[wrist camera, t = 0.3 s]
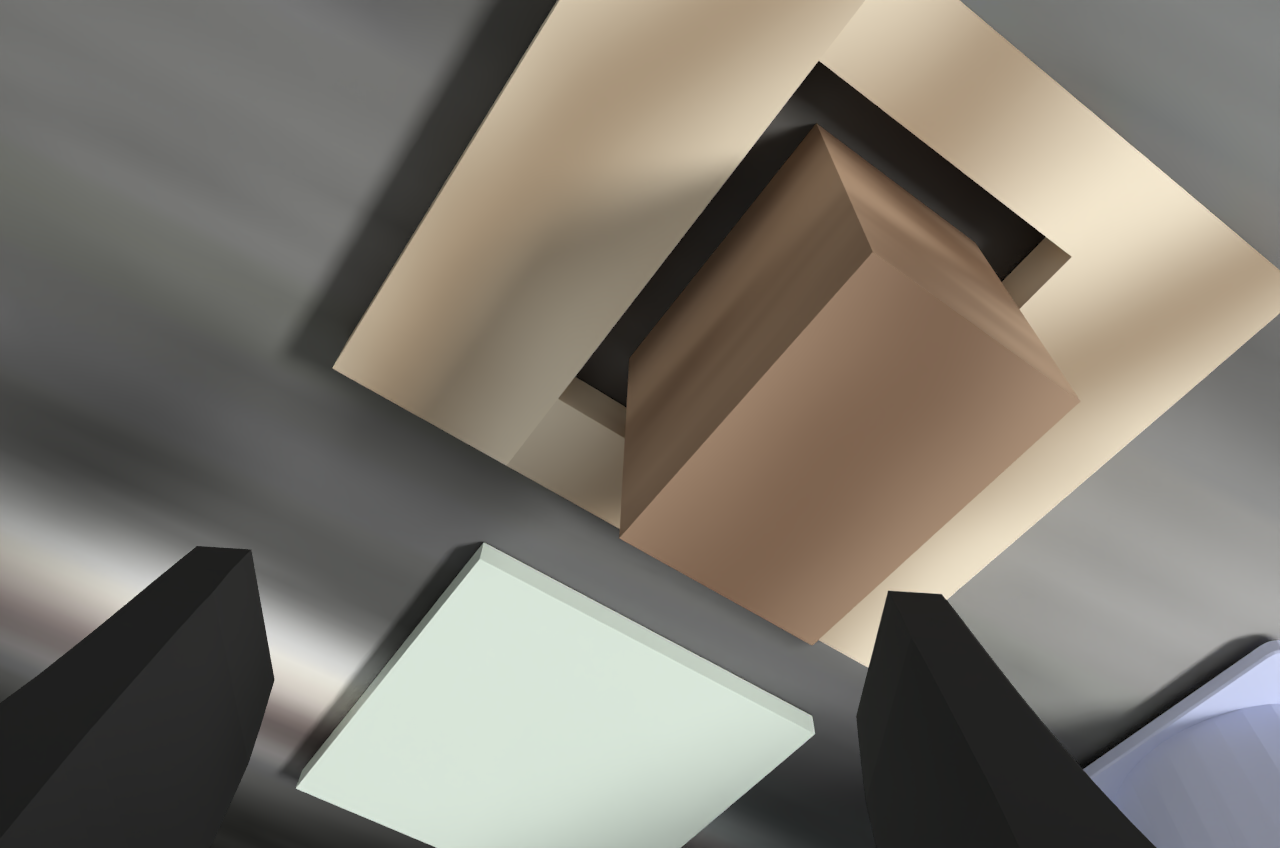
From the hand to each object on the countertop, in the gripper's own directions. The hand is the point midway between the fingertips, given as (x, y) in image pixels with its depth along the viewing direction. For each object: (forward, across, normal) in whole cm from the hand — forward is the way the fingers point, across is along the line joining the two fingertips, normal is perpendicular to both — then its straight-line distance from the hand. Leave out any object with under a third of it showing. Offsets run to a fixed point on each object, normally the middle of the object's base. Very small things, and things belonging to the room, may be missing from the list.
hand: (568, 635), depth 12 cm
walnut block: (+10, -4, 0) cm, 11 cm away
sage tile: (+10, +1, +14) cm, 17 cm away
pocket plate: (+10, -4, 0) cm, 11 cm away
